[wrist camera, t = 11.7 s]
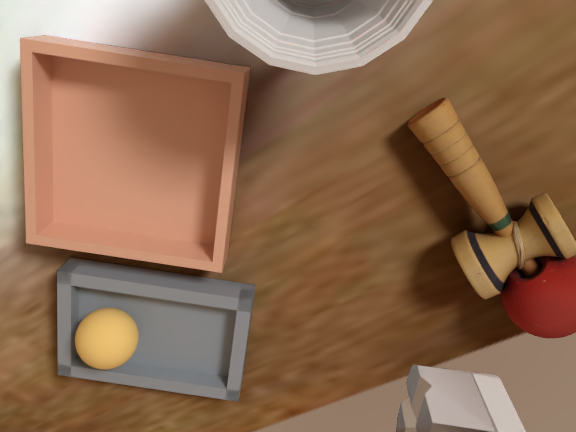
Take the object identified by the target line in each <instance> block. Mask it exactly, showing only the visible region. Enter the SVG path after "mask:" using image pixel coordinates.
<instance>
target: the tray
mask: <svg viewBox="0 0 576 432" xmlns="http://www.w3.org/2000/svg"><path fill="white" fill-rule="evenodd" d="M255 286H256V285H252V284H245V283H239V282H232V281H225V280H219V279H212V278H205V277H199V276H192V275H186V274H179V273H172V272H166V271H159V270H152V269H146V268H139V267H133V266H126V265H119V264H113V263H106V262H99V261H93V260H86V259H80V258H73V257H70V258H69V259H68V260H67V261H66V262H65V263H64V264H63V265H62V266H61V267H60V268H59V269H58V270H57V336H58V375H63V376H69V377H76V378H83V379H90V380H96V381H103V382H110V383H117V384H123V385H130V386H137V387H144V388H150V389H157V390H164V391H170V392H177V393H184V394H191V395H197V396H204V397H211V398H218V399H224V400H231V401H238V400H239V395H240V390H241V384H242V378H243V371H244V364H245V357H246V350H247V343H248V335H249V328H250V321H251V314H252V307H253V300H254V293H255ZM101 308H117V309H120V310H122V311H124V312H126V313H127V314H129V315H130V316H131V317H132V319H133V320H134V321H135V323H136V325H137V328H138V334H139V339H138V344H137V348H136V350H135V352H134V353H133V355H132V356H131V358H130V359H129V360H128V361H126V362H125V363H124V364H122V365H120V366H118V367H116V368H113V369H97V368H94V367H91V366H89V365H88V364H86V363H85V362H84V361H83V360H82V359H81V358H80V356H79V355H78V353H77V350H76V347H75V335H76V331H77V328H78V326H79V324H80V323H81V321H82V320H83V319H84V318H85V317H86V316H87V315H88V314H90V313H91V312H93V311H95V310H98V309H101Z"/></svg>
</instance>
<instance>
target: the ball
mask: <svg viewBox="0 0 576 432" xmlns="http://www.w3.org/2000/svg"><path fill="white" fill-rule="evenodd" d="M138 339H139V334H138V328H137V325H136V323H135V321H134V320H133V319H132V317H131V316H130V315H129V314H127V313H126V312H124V311H122V310H120V309H117V308H101V309H98V310H95V311H93V312H91V313H90V314H88V315H87V316H86V317H85V318H84V319H83V320H82V321H81V323H80V324H79V326H78V328H77V331H76V335H75V347H76V350H77V353H78V355H79V356H80V358H81V359H82V360H83V361H84V362H85V363H86V364H88V365H89V366H91V367H94V368H97V369H113V368H116V367H118V366H120V365H122V364H124V363H125V362H126V361H128V360H129V359H130V358H131V356H132V355H133V353H134V352H135V350H136V348H137V344H138Z"/></svg>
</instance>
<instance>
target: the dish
mask: <svg viewBox="0 0 576 432" xmlns="http://www.w3.org/2000/svg"><path fill="white" fill-rule="evenodd" d="M20 57H21V91H22V124H23V157H24V191H25V224H26V243H28V244H35V245H41V246H48V247H55V248H61V249H68V250H74V251H81V252H88V253H94V254H101V255H107V256H114V257H121V258H127V259H134V260H141V261H147V262H154V263H160V264H167V265H174V266H180V267H187V268H193V269H200V270H207V271H213V272H220V273H222V270H223V268H224V265H225V262H226V259H227V256H228V253H229V245H230V236H231V228H232V219H233V211H234V202H235V194H236V185H237V177H238V168H239V160H240V151H241V143H242V134H243V126H244V117H245V109H246V100H247V92H248V83H249V75H250V67H246V66H239V65H233V64H226V63H220V62H214V61H207V60H201V59H194V58H188V57H181V56H175V55H169V54H162V53H156V52H149V51H143V50H136V49H130V48H124V47H117V46H111V45H104V44H98V43H91V42H85V41H79V40H72V39H66V38H59V37H53V36H46V35H42V36H33V37H24V38H20Z"/></svg>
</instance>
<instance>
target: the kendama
mask: <svg viewBox="0 0 576 432" xmlns="http://www.w3.org/2000/svg"><path fill="white" fill-rule="evenodd" d="M407 125H408V127H409V128H410V129H411V131H412V132H413V133H414V134H415V136H416V137H417V138H418V139H419V141H420V142H422V143H423V145H424V147H425V148H426V149H427V150H428V152H429V153H430V154H431V155H432V157H433V158H434V160H435V161H436V162H437V163H438V164H439V165H440V167H441V169H442V170H443V171H444V173H445V174H446V175H447V176H449V179H450V181H451V182H452V183H453V185H454V186H455V187H456V189H457V190H458V191H459V192H460V194H461V195H462V196H463V197H464V198H465V200H466V201H467V202H468V203H469V204H470V206H471V207H472V208H473V209H474V210H475V211H476V212H477V213H478V215H479V216H480V217H481V218H482V219H483V220H484V221H485V222H486V223H487V225H488V226H490V228H491V229H492V230H493V231H494V232H495V233H488V234H482V233H474V232H470V231H467V230H464V231H463V232H461V233H459V234H457V235H456V236H454V237H452V238H451V246H452V249H453V252H454V254H455V256H456V259H457V261H458V263H459V265H460V267H461V268H462V270H463V272H464V274H465V276H466V278H467V279H468V281H469V282H470V284H471V285H472V287H473V288H474V290H475V291H476V292H477V293H478V295H479V296H481V297H482V298H483V299H488V298H490V297H493V296H495V295H498V294H500V298H501V302H502V306H503V308H504V310H505V312H506V314H507V315H508V317H509V318H510V319H511V320H512V321H513V323H514V324H516V325H517V326H518V327H519V328H521V329H522V330H524V331H525V332H527V333H529V334H532V335H535V336H538V337H543V338H560V337H565V336H568V335H571V334H573V333H575V332H576V258H575V257H574V255H576V241H575V240H574V237H573V236H572V234H571V232H570V231H569V229H568V227H567V225H566V224H565V222H564V221H563V219H562V217H561V215H560V214H559V212H558V210H557V209H556V207H555V206H554V204H553V202H552V200H551V199H550V198H549V196H548V194H546V193H543V194H541V195H539V196H536V197H534V198H532V199H531V202H530V204H529V207H528V209H527V211H526V212H525V214H524V215H523V216H522V217H521V218H520V219H519V220H518V222H517V221H512V220H511V217H510V215H509V212H508V211H507V208H506V206H505V204H504V202H503V200H502V198H501V195H500V193H499V191H498V189H497V187H496V185H495V183H494V181H493V179H492V177H491V175H490V173H489V172H488V170H487V168H486V166H485V164H484V163H483V161H482V159H481V158H480V157H479V154H478V152H477V150H476V149H475V147H474V145H472V142H471V140H470V138H469V136H468V135H467V133H466V131H465V129H464V127H463V126H462V124H461V122H460V121H459V120H458V116H457V114H456V112H455V110H454V109H453V107H452V105H451V103H450V101H449V99H448V98H442V99H440V100H438V101H436V102H434V103H433V104H430V105H429V106H427V107H426V108H425V109H423V110H422V111H420V112H419V113H417V114H416V115H415V116H414V117H413V118H411V119H410V120H409V122H408V124H407Z"/></svg>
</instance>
